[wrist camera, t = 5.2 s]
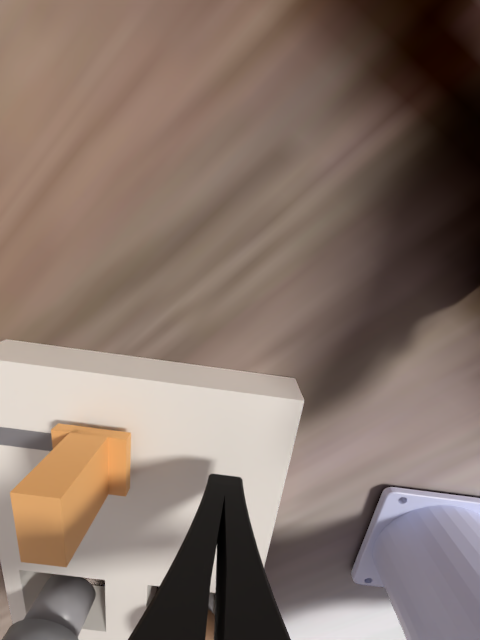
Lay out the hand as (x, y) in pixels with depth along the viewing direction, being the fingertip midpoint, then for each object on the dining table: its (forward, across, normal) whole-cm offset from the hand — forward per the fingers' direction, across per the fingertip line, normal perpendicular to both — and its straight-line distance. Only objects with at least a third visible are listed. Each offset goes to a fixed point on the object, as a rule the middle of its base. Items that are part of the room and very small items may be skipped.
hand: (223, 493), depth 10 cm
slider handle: (+1, +6, 0) cm, 6 cm away
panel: (+3, +4, +6) cm, 8 cm away
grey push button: (+2, +8, +12) cm, 15 cm away
